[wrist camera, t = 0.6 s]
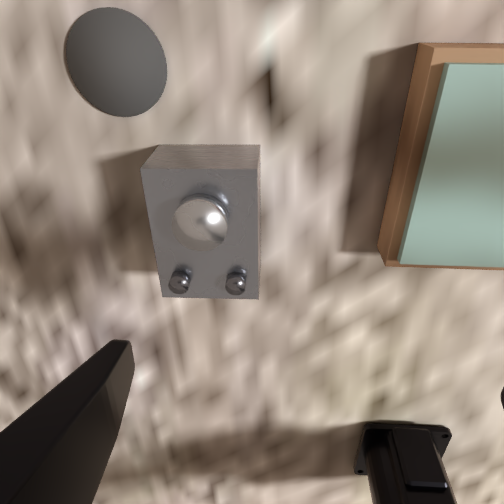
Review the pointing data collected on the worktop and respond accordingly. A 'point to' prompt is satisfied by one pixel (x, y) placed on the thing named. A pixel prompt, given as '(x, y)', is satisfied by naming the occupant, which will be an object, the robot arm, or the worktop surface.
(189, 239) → the housing
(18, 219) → the worktop surface
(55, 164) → the worktop surface
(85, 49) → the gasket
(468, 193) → the stand
